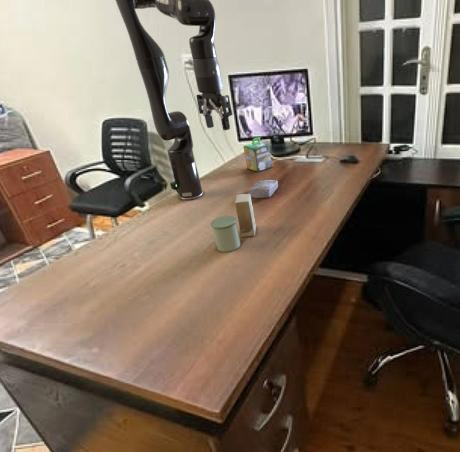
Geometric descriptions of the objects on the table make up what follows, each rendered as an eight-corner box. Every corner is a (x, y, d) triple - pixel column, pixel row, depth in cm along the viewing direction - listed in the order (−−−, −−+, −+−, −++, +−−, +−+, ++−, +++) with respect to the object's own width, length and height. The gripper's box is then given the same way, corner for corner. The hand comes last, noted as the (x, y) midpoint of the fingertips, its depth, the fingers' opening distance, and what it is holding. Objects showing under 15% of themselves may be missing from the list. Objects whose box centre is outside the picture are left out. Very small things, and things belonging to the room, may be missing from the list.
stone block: (248, 202, 139) (271, 197, 136) (244, 190, 137) (267, 186, 134) (259, 191, 149) (280, 187, 146) (255, 180, 147) (277, 176, 144)
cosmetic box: (243, 228, 116) (236, 194, 110) (256, 227, 116) (250, 192, 110) (241, 237, 110) (234, 202, 104) (254, 236, 110) (248, 201, 105)
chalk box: (261, 163, 176) (257, 134, 169) (272, 166, 171) (268, 136, 164) (246, 168, 171) (241, 138, 164) (257, 172, 165) (253, 141, 158)
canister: (211, 247, 106) (205, 223, 102) (230, 237, 111) (225, 213, 107) (226, 254, 102) (221, 229, 98) (246, 243, 107) (241, 219, 103)
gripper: (232, 73, 105) (241, 128, 112) (204, 73, 113) (214, 124, 120) (211, 76, 100) (222, 133, 107) (184, 76, 108) (196, 129, 115)
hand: (218, 128), depth 114 cm, fingers open, 8 cm apart
